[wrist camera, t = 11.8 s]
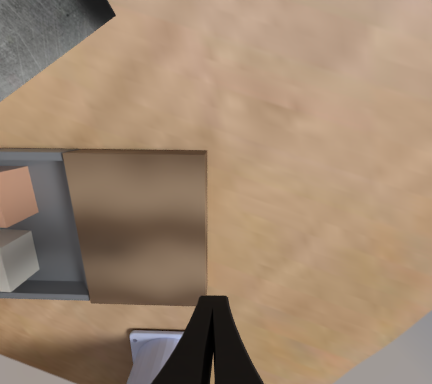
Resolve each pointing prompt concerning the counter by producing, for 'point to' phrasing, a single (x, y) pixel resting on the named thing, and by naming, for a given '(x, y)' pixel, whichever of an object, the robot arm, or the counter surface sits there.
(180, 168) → the walnut board
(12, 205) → the peach matte cube
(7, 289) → the pale grey cube
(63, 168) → the charcoal tray
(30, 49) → the meat cleaver
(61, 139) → the counter surface
